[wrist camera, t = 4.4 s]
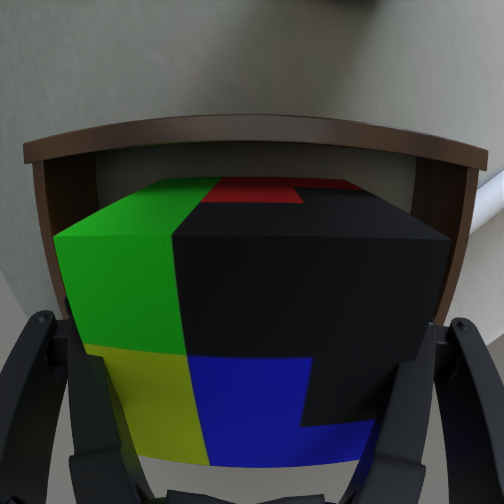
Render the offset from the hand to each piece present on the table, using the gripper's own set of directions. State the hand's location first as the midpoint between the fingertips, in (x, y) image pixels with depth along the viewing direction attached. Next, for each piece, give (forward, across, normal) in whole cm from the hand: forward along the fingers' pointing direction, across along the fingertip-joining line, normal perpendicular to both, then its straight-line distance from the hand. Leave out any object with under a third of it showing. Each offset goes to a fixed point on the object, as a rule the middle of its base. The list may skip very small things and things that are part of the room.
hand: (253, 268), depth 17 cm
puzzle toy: (+1, 0, 0) cm, 1 cm away
